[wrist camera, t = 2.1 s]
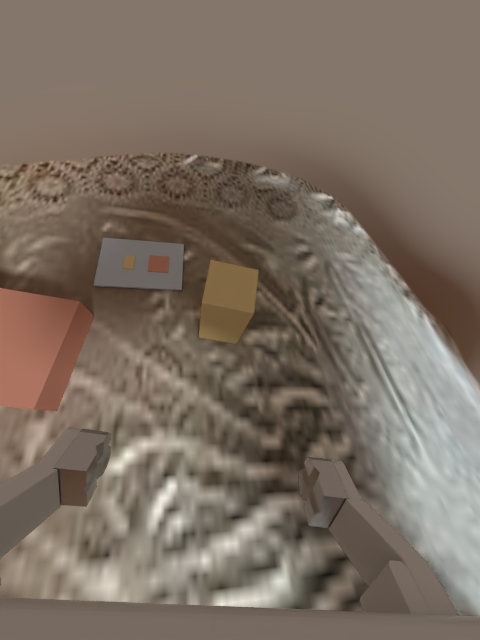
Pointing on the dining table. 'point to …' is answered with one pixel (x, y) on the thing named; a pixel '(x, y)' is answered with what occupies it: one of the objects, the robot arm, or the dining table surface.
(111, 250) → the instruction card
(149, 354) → the dining table surface
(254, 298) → the ochre brick
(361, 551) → the robot arm
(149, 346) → the dining table surface
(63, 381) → the base brick
